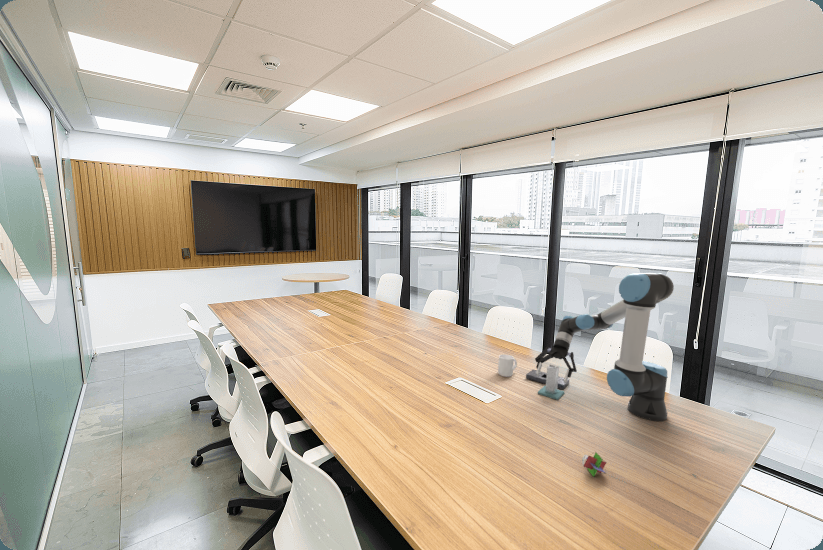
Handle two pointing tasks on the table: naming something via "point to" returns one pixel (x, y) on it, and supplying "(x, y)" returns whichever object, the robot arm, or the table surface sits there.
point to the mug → (506, 365)
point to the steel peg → (552, 379)
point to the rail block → (542, 378)
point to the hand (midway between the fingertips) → (550, 378)
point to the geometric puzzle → (594, 464)
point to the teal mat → (554, 396)
